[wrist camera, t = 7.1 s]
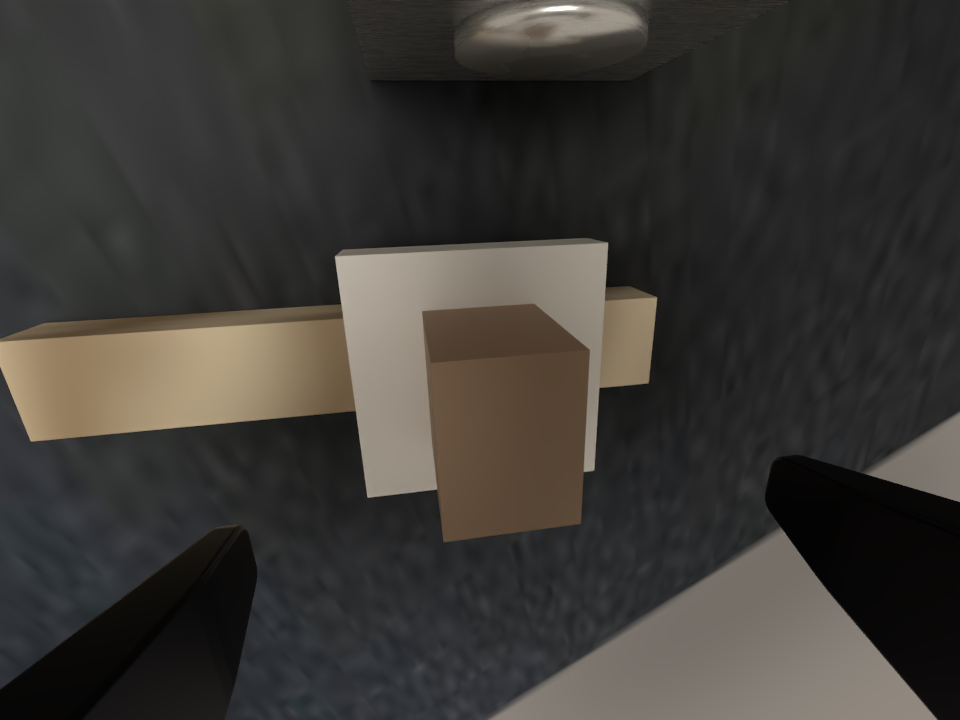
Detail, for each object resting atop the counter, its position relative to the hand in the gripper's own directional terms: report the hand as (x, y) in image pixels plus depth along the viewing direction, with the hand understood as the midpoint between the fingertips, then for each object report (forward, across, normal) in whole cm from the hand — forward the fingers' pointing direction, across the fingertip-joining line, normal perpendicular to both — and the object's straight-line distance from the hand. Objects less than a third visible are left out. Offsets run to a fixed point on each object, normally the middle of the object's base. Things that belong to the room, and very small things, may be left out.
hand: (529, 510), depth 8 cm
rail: (+9, +3, 0) cm, 10 cm away
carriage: (+9, 0, 0) cm, 9 cm away
